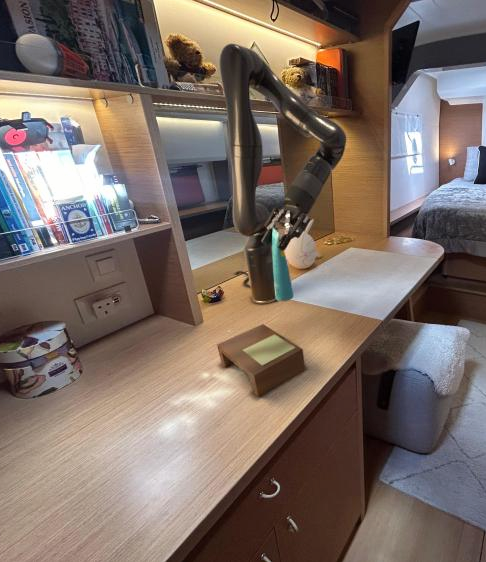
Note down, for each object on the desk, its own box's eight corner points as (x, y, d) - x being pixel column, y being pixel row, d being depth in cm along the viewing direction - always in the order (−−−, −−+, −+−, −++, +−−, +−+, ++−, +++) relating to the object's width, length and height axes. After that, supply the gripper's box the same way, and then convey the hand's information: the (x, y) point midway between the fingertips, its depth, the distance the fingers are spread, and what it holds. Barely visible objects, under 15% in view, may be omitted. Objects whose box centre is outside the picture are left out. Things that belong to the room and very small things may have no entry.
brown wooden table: (221, 364, 87) (216, 343, 84) (266, 342, 95) (262, 323, 93) (258, 397, 75) (253, 374, 72) (305, 369, 83) (302, 348, 81)
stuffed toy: (295, 240, 130) (327, 217, 149) (268, 240, 136) (302, 218, 155) (307, 283, 139) (336, 256, 158) (281, 280, 145) (312, 255, 164)
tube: (297, 300, 93) (288, 232, 85) (280, 305, 90) (269, 235, 83) (288, 290, 99) (279, 226, 91) (272, 294, 96) (261, 229, 89)
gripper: (278, 182, 92) (246, 234, 89) (311, 186, 83) (277, 244, 80) (296, 199, 98) (267, 248, 95) (329, 204, 88) (298, 259, 85)
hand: (272, 246), depth 87 cm, fingers closed on tube, 6 cm apart
